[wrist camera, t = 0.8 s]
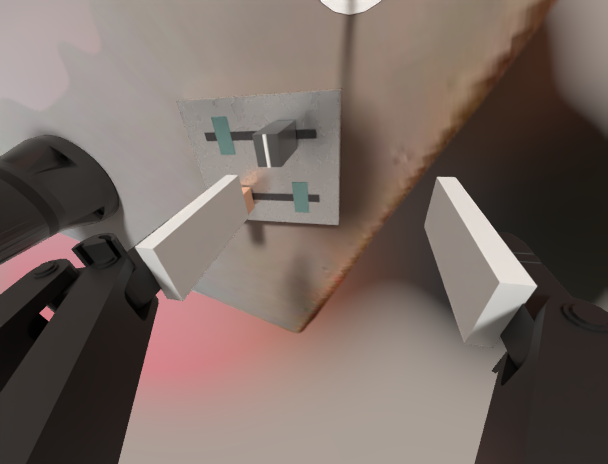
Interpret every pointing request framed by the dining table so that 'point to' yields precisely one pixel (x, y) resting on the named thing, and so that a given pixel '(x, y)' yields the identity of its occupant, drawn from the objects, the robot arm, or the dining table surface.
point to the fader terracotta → (248, 199)
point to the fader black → (275, 143)
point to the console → (276, 180)
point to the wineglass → (349, 5)
